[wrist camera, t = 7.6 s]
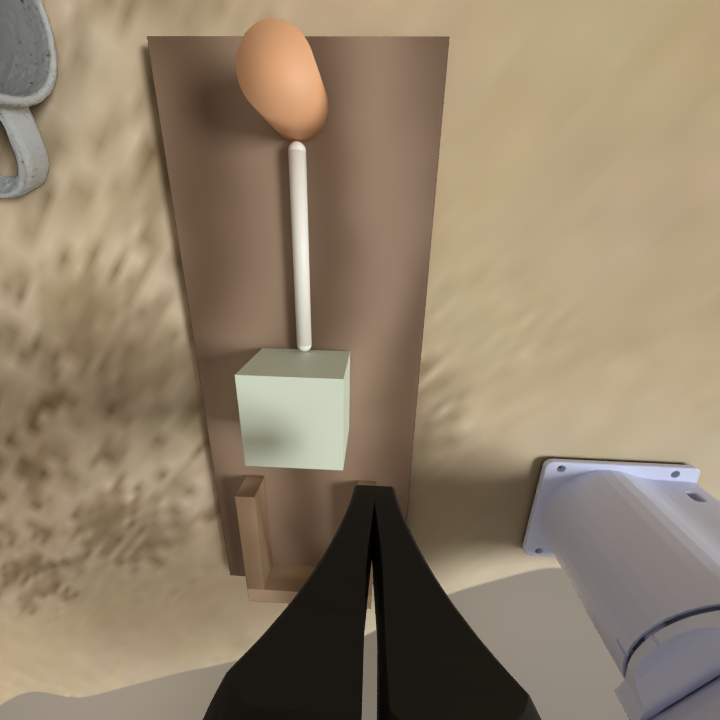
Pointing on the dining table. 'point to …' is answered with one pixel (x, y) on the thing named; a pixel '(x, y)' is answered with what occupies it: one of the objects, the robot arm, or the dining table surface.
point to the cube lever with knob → (294, 366)
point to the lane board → (326, 265)
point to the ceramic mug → (25, 89)
